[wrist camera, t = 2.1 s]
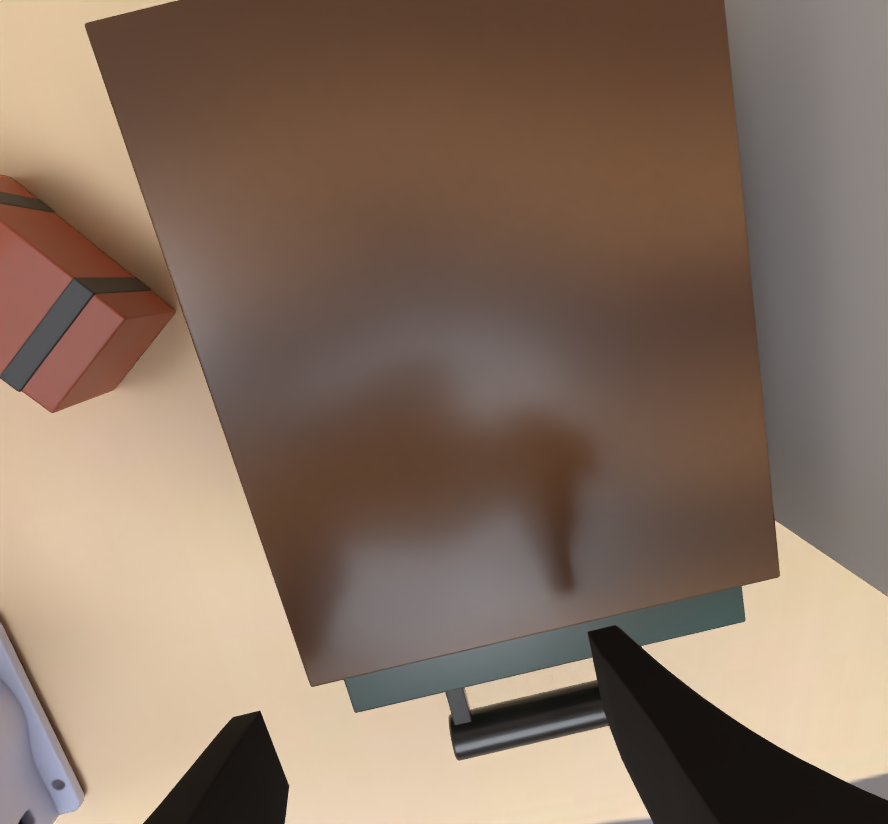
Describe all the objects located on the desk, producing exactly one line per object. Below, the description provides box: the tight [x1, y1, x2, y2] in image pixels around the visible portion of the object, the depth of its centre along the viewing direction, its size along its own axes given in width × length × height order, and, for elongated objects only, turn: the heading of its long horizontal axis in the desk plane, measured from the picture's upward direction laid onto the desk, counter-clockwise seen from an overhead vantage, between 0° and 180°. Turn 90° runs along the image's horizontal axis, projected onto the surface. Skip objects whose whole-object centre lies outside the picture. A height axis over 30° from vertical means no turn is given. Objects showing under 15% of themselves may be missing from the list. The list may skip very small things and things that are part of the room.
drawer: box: [344, 586, 745, 761], centre depth 17 cm, size 19×11×7 cm, turn 13°
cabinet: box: [85, 0, 780, 687], centre depth 16 cm, size 15×12×8 cm
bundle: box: [0, 175, 175, 413], centre depth 18 cm, size 7×4×4 cm, turn 48°
